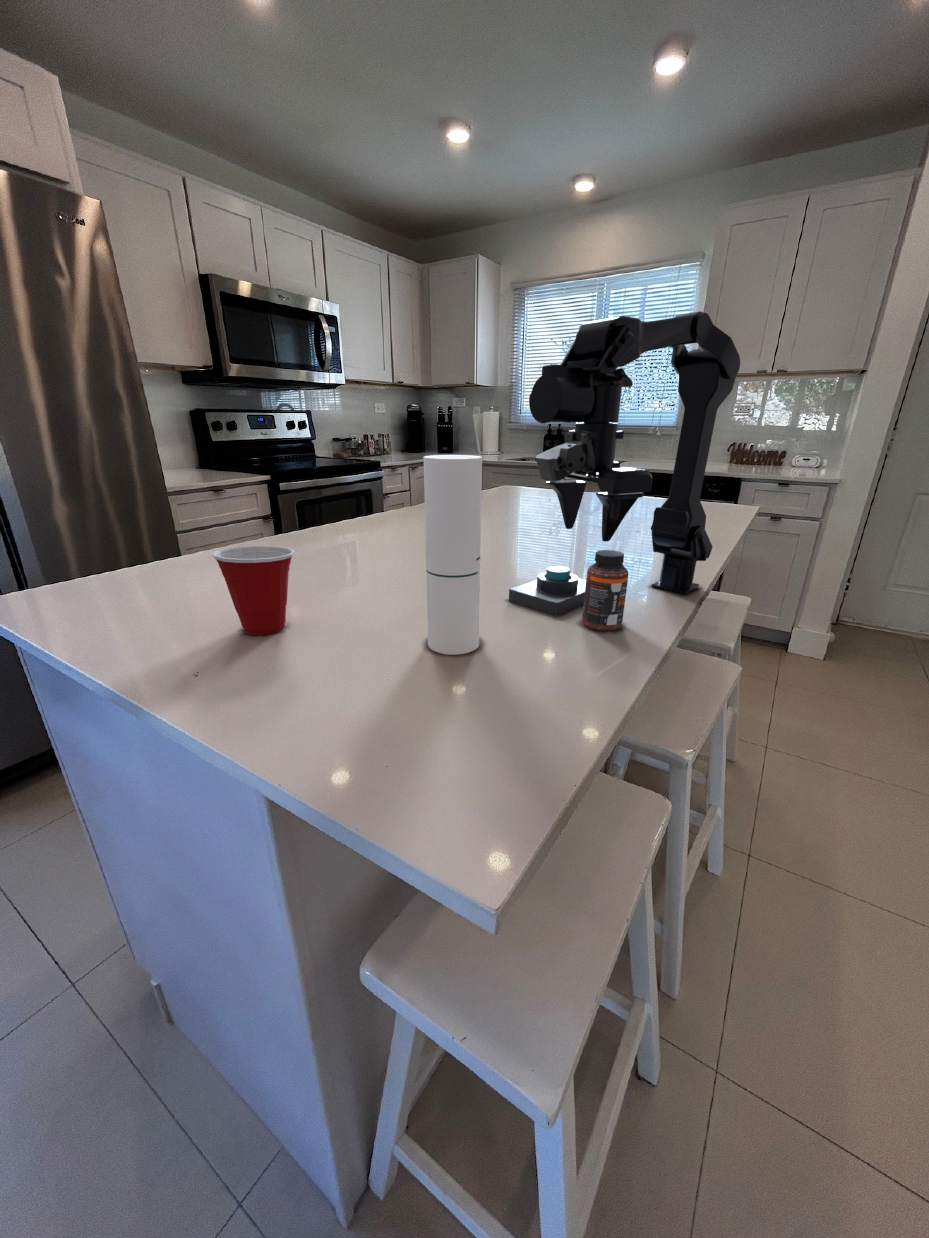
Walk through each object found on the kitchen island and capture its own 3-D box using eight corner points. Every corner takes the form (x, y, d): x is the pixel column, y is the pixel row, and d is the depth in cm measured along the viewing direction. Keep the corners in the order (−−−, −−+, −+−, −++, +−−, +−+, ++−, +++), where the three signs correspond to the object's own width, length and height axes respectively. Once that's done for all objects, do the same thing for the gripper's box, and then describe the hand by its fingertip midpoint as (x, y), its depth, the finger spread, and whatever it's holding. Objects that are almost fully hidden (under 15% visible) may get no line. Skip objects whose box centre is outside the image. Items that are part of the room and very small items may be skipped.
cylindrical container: (485, 637, 73) (489, 455, 64) (469, 657, 67) (471, 459, 58) (439, 630, 75) (436, 454, 66) (419, 650, 69) (413, 458, 60)
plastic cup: (318, 621, 79) (310, 545, 74) (266, 647, 70) (253, 563, 65) (265, 610, 83) (254, 537, 78) (209, 634, 74) (193, 553, 69)
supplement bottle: (623, 634, 74) (633, 559, 70) (581, 630, 76) (589, 556, 71) (620, 619, 80) (629, 548, 76) (581, 616, 81) (588, 546, 77)
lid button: (554, 574, 90) (555, 564, 90) (574, 578, 88) (574, 569, 87) (541, 578, 88) (541, 569, 87) (560, 583, 85) (561, 573, 84)
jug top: (555, 583, 97) (557, 563, 95) (602, 595, 90) (604, 574, 89) (508, 601, 88) (509, 578, 86) (556, 616, 81) (558, 592, 80)
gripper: (513, 422, 75) (509, 527, 81) (589, 424, 59) (577, 554, 65) (576, 422, 79) (568, 521, 85) (663, 424, 63) (646, 546, 69)
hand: (586, 534), depth 76 cm, fingers open, 9 cm apart
